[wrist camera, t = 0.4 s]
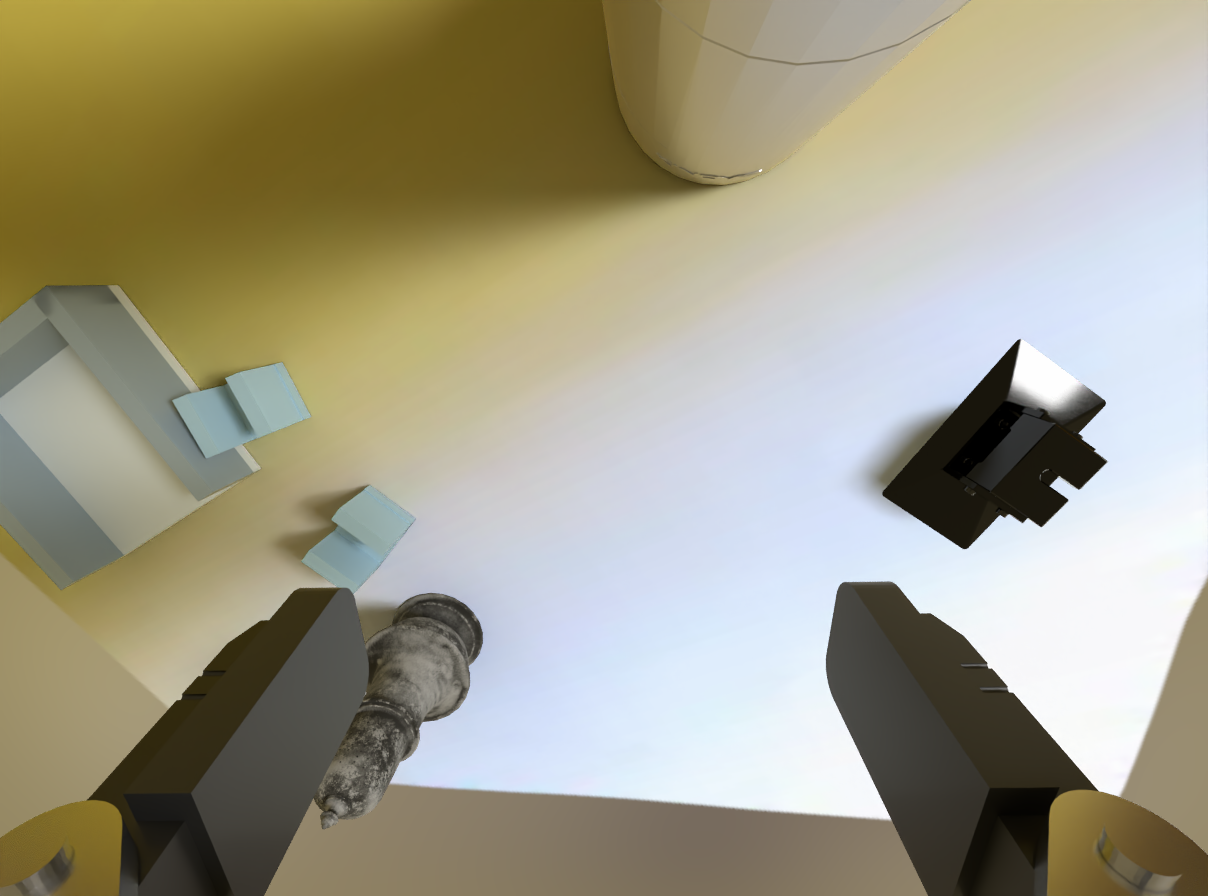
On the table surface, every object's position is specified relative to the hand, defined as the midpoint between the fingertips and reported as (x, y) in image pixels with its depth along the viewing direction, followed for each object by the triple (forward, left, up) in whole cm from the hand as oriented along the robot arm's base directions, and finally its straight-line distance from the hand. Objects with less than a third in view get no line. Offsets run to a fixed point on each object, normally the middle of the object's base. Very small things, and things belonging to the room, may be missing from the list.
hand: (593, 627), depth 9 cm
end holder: (+6, -26, -19) cm, 33 cm away
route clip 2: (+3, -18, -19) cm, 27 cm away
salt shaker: (+15, -8, -19) cm, 26 cm away
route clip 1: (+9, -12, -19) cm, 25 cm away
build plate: (-1, +18, -20) cm, 27 cm away
